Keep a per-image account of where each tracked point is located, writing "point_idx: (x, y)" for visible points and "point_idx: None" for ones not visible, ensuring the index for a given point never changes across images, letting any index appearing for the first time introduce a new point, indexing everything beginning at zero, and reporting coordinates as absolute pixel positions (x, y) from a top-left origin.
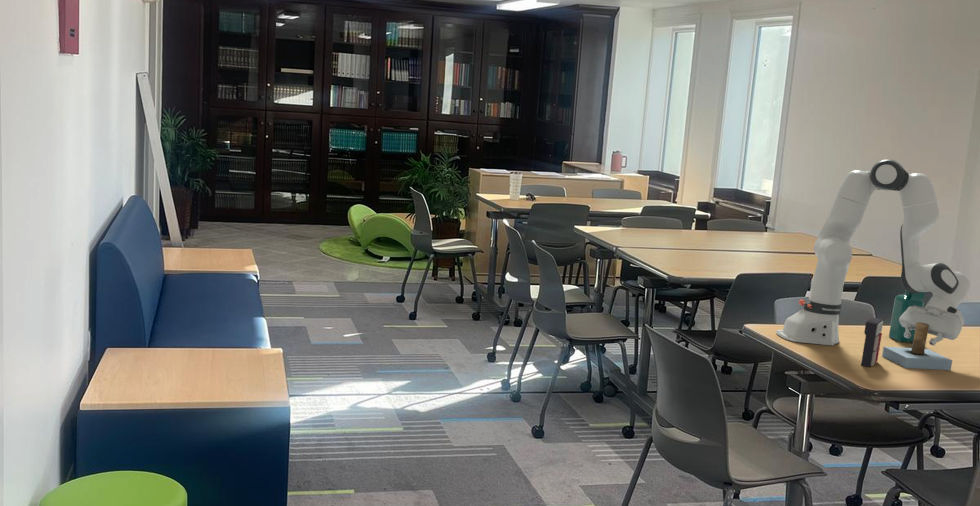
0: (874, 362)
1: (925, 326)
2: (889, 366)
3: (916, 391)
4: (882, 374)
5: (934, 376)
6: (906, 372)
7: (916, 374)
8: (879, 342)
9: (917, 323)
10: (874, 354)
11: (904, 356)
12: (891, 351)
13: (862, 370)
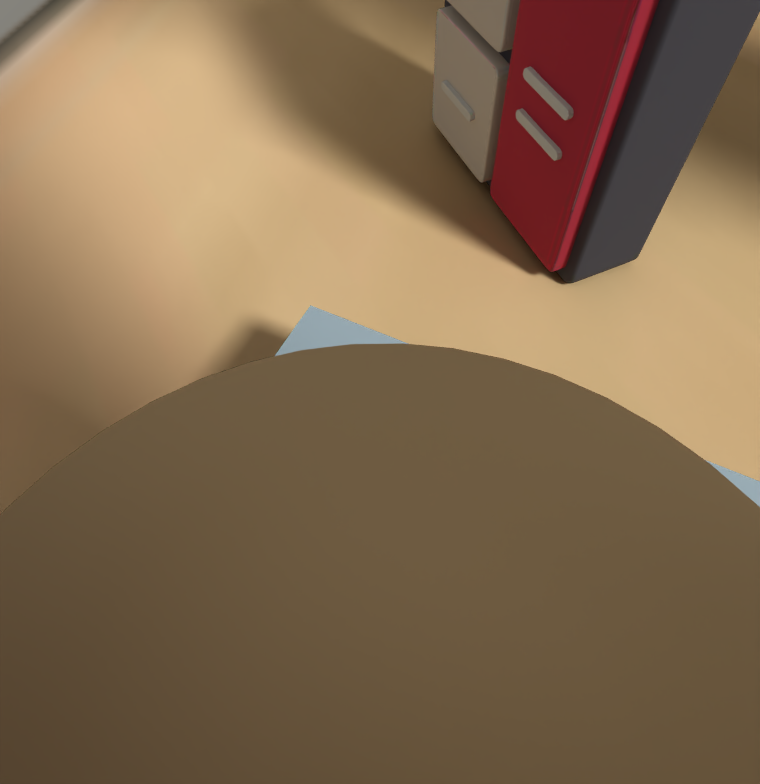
0: (470, 157)
1: (37, 563)
2: (410, 274)
3: (24, 21)
4: (296, 83)
5: (28, 392)
6: (237, 260)
7: (161, 289)
8: (554, 42)
9: (570, 408)
10: (441, 33)
11: (354, 329)
12: None
13: (406, 47)
